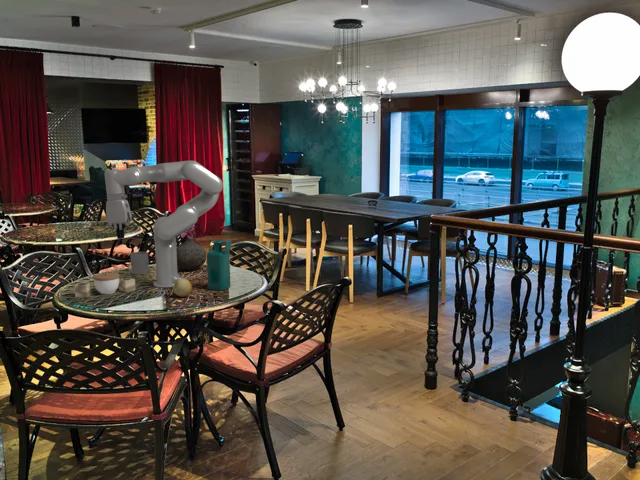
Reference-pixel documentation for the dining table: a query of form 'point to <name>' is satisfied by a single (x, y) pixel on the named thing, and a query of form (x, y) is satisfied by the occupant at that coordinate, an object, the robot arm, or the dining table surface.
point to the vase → (190, 252)
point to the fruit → (182, 287)
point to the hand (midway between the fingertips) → (120, 238)
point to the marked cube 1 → (83, 290)
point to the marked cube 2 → (127, 284)
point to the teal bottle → (219, 266)
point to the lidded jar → (106, 282)
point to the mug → (139, 263)
